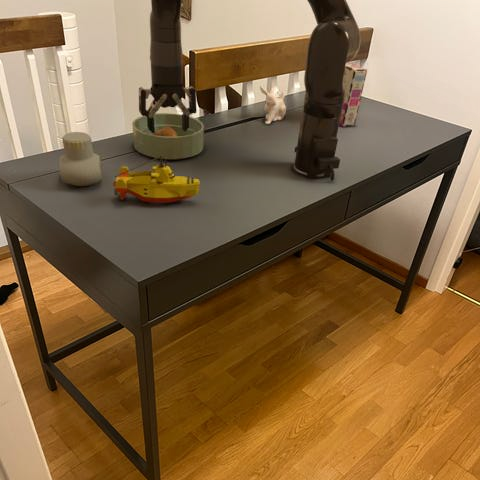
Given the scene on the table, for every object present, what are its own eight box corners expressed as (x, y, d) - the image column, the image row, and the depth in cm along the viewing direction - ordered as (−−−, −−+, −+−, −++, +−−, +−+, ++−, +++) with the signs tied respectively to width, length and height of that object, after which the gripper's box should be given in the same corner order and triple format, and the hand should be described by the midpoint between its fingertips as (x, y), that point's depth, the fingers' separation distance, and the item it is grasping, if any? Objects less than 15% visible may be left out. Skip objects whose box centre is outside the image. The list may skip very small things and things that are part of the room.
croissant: (171, 137, 130) (171, 120, 127) (182, 152, 122) (182, 135, 119) (152, 138, 128) (152, 121, 125) (162, 154, 120) (162, 136, 117)
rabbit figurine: (267, 124, 145) (271, 91, 139) (249, 118, 149) (252, 85, 142) (290, 117, 152) (295, 85, 146) (272, 111, 156) (276, 79, 150)
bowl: (212, 158, 122) (213, 135, 118) (141, 164, 116) (140, 139, 112) (192, 133, 134) (192, 111, 131) (127, 137, 129) (125, 114, 125)
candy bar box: (355, 126, 150) (368, 69, 140) (342, 127, 149) (354, 70, 138) (336, 114, 158) (346, 60, 147) (323, 115, 156) (333, 60, 145)
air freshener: (101, 191, 103) (96, 146, 97) (62, 192, 102) (53, 146, 95) (102, 170, 111) (96, 127, 105) (65, 171, 110) (57, 127, 103)
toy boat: (117, 192, 104) (112, 147, 97) (199, 195, 105) (200, 151, 99) (113, 206, 99) (107, 159, 92) (199, 209, 100) (200, 163, 94)
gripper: (140, 65, 107) (144, 138, 117) (200, 64, 111) (199, 134, 122) (133, 58, 112) (138, 127, 122) (190, 57, 116) (190, 124, 127)
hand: (168, 131), depth 122 cm, fingers open, 8 cm apart
